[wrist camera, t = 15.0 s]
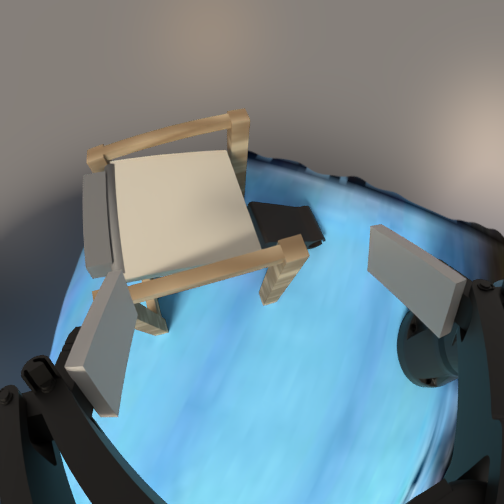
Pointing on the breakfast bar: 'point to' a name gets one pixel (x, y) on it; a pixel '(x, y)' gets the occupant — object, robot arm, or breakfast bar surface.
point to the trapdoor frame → (275, 258)
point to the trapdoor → (164, 215)
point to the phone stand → (284, 224)
